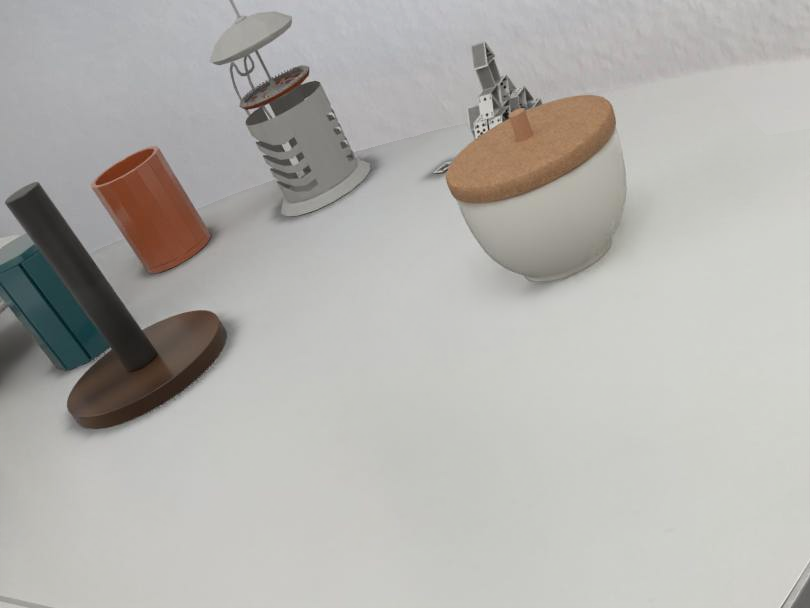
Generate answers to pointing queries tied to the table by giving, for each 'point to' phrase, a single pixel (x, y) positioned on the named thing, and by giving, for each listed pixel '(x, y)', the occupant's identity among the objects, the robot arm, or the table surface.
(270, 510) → the table surface
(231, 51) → the french press
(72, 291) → the towel holder
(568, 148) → the trinket box
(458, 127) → the table surface
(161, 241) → the terracotta cup
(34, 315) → the teal tall block
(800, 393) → the table surface
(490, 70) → the house of cards
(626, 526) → the table surface
